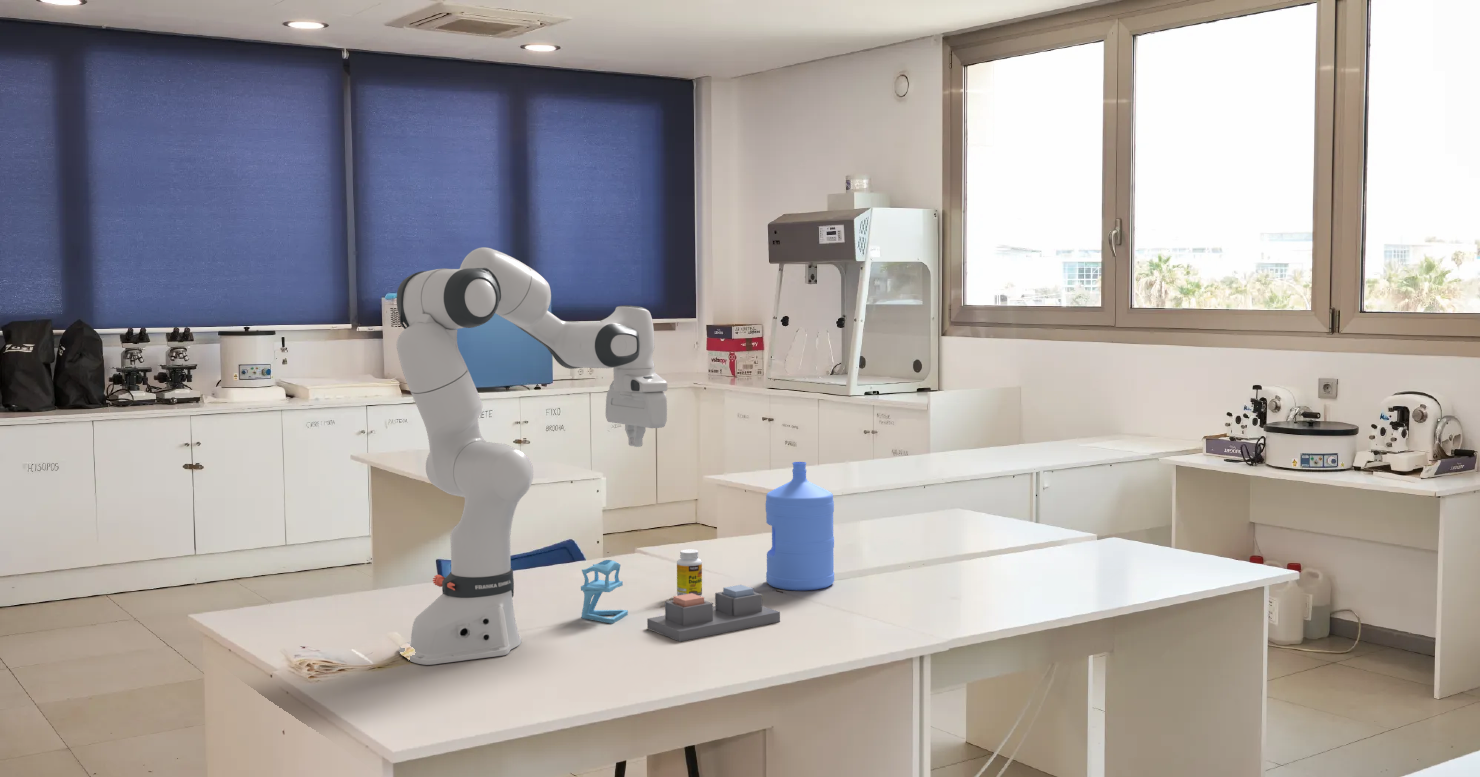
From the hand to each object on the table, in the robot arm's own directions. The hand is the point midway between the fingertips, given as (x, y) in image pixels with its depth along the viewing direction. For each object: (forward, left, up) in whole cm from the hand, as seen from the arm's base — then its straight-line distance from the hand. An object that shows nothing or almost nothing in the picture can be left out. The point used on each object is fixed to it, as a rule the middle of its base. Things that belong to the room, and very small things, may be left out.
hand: (635, 446), depth 260 cm
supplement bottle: (+12, -2, -34) cm, 36 cm away
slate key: (+9, -25, -31) cm, 40 cm away
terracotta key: (-3, -25, -30) cm, 39 cm away
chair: (-12, -6, -34) cm, 37 cm away
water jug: (+39, -7, -34) cm, 52 cm away
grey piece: (+3, -25, -34) cm, 42 cm away
